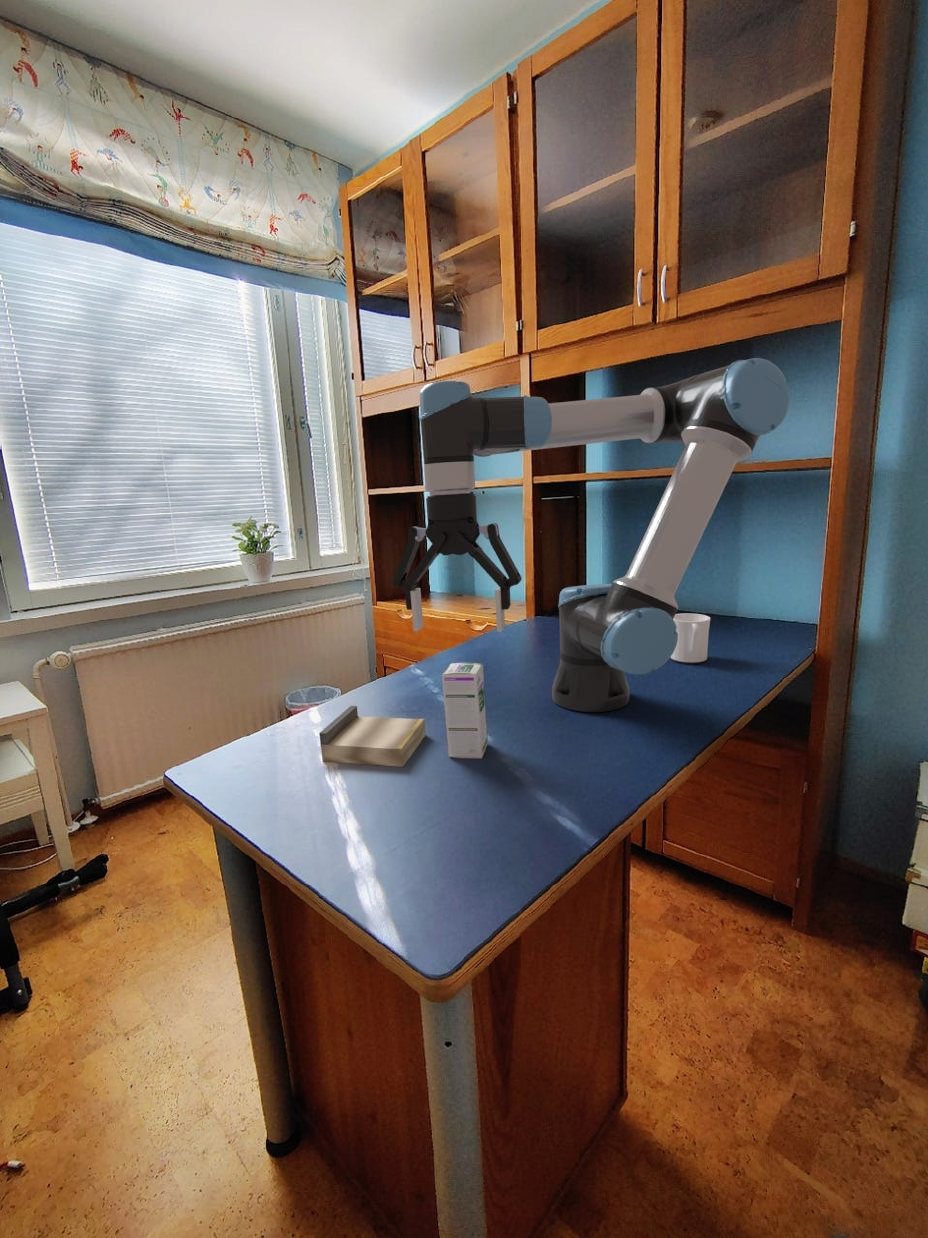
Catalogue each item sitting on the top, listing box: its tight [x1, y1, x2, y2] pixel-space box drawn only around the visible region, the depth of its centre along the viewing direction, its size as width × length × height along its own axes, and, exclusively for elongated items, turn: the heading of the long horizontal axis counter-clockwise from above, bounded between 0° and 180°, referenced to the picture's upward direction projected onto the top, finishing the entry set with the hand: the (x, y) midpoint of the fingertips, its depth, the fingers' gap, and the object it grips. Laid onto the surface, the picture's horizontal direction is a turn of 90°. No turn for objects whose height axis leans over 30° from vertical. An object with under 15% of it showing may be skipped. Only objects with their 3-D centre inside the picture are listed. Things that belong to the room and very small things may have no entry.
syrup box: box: [441, 662, 489, 759], centre depth 94 cm, size 6×6×14 cm
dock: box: [319, 705, 427, 768], centre depth 98 cm, size 14×12×5 cm
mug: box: [669, 612, 711, 666], centre depth 134 cm, size 11×9×10 cm
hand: (459, 629), depth 91 cm, fingers open, 13 cm apart
